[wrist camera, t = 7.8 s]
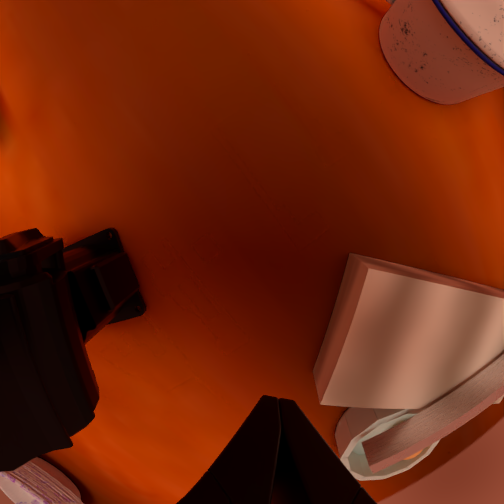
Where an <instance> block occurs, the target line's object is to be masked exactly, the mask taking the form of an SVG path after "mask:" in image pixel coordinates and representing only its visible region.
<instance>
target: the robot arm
mask: <svg viewBox="0 0 504 504" xmlns="http://www.w3.org/2000/svg"><path fill="white" fill-rule="evenodd" d="M109 232H110V233H111V234H112V238H110V237H109ZM137 306H139V307H140V308H141V310H138V309H137ZM145 311H146V305H145V303H144V300H143V298H142V296H141V293H140V291H139V284H138V281H137V279H136V276H135V274H134V271H133V269H132V266H131V263H130V261H129V258H128V256H127V254H126V253H125V252H124V250H123V247H122V245H121V242H120V239H119V236H118V233H117V231H116V230H115V229H114V228H108V229H105V230H103V231H101V232H98V233H96V234H94V235H92V236H89V237H87V238H85V239H83V240H81V241H78V242H76V243H74V244H72V245H70V246H68V247H65V248H64V247H63V240H62V238H58V239H53V237H45V236H43V235H42V234H41V233H40V232H39V230H38V229H37V228H34V229H28V230H24V231H20V232H16V233H13V234H9V235H7V236H4V237H2V238H0V472H5V471H14V470H16V469H17V468H19V467H21V466H22V465H24V464H25V463H27V462H29V461H30V460H32V459H34V458H36V457H37V456H39V455H42V454H45V453H48V452H50V451H53V450H59V449H65V448H70V447H72V446H73V443H72V441H71V439H70V437H71V436H73V435H75V434H76V433H78V432H79V431H81V430H82V429H84V428H85V427H86V426H87V425H88V424H89V423H90V422H91V421H92V420H93V419H94V417H95V413H94V410H95V408H96V405H97V403H98V400H99V387H98V384H97V382H96V377H95V374H94V371H93V370H92V367H91V364H90V361H89V358H88V355H87V351H86V348H85V344H86V343H87V342H88V341H89V340H90V339H91V338H92V337H93V336H95V335H96V334H97V333H98V332H99V331H100V330H101V329H102V328H103V327H104V326H105V325H107V324H111V323H115V322H119V321H123V320H126V319H130V318H134V317H138V316H141V315H143V314H144V313H145ZM360 487H361V485H360V484H359V482H358V481H357V480H356V479H355V478H354V476H353V475H352V474H351V473H350V471H349V470H348V469H347V468H346V467H345V465H344V464H343V463H342V462H341V460H340V459H339V458H338V457H337V455H336V454H335V453H334V452H333V450H332V449H331V448H330V447H329V445H328V444H327V443H326V441H325V440H324V439H323V438H322V436H321V435H320V434H319V432H318V431H317V430H316V429H315V427H314V426H313V425H312V423H311V422H310V421H309V419H308V418H307V417H306V416H305V414H304V413H303V412H302V410H301V409H300V408H299V406H298V405H297V404H296V402H295V401H293V400H289V399H283V398H280V399H278V398H277V397H272V396H267V395H263V396H262V397H261V398H260V400H259V401H258V403H257V404H256V406H255V407H254V408H253V410H252V411H251V413H250V414H249V416H248V417H247V418H246V420H245V421H244V423H243V424H242V425H241V427H240V428H239V429H238V431H237V432H236V434H235V435H234V436H233V438H232V439H231V440H230V442H229V443H228V444H227V446H226V447H225V448H224V450H223V451H222V452H221V454H220V455H219V456H218V457H217V459H216V460H215V461H214V463H213V464H212V465H211V466H210V468H209V469H208V471H206V472H205V474H204V475H203V476H202V477H201V479H200V480H199V481H198V482H197V483H196V484H195V485H194V487H193V488H192V489H191V490H190V491H189V492H188V493H187V494H186V495H185V496H184V497H183V498H182V499H181V500H180V501H179V502H177V503H176V504H377V503H376V502H375V501H374V500H373V499H372V498H371V496H370V495H369V494H368V493H367V492H366V491H365V489H364V488H363V487H361V488H360Z"/></svg>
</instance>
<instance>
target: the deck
mask: <svg viewBox="0 0 504 504" xmlns="http://www.w3.org/2000/svg"><path fill="white" fill-rule="evenodd" d="M503 354H504V290H502V289H498V288H494V287H490V286H486V285H482V284H478V283H475V282H471V281H467V280H463V279H459V278H455V277H451V276H447V275H442V274H438V273H434V272H430V271H426V270H422V269H418V268H414V267H409V266H405V265H401V264H397V263H392V262H388V261H384V260H380V259H375V258H371V257H367V256H362V255H358V254H354V253H349V257H348V261H347V264H346V268H345V272H344V275H343V279H342V282H341V286H340V289H339V293H338V296H337V299H336V303H335V306H334V309H333V312H332V316H331V319H330V322H329V325H328V328H327V331H326V334H325V337H324V340H323V343H322V346H321V349H320V352H319V355H318V358H317V361H316V363H315V366H314V369H313V375H314V379H315V383H316V388H317V392H318V397H319V401H320V404H321V405H332V406H344V407H359V408H381V409H427V408H428V407H430V406H432V405H433V404H435V403H436V402H438V401H440V400H441V399H443V398H444V397H446V396H447V395H449V394H450V393H452V392H454V391H455V390H456V389H458V388H459V387H461V386H462V385H464V384H465V383H467V382H468V381H469V380H471V379H472V378H474V377H475V376H476V375H478V374H479V373H480V372H482V371H483V370H484V369H486V368H487V367H488V366H489V365H491V364H492V363H493V362H494V361H496V360H497V359H498V358H499V357H501V356H502V355H503ZM503 396H504V395H502V396H501V397H500V398H499V399H498V400H496V401H495V402H494V403H492V404H496V403H500V402H501V400H502V398H503Z"/></svg>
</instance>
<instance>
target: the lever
mask: <svg viewBox="0 0 504 504" xmlns="http://www.w3.org/2000/svg"><path fill="white" fill-rule="evenodd" d="M502 395H504V354H503V355H502V356H501V357H499V358H498V359H497V360H496V361H494V362H493V363H492V364H491V365H489V366H488V367H487V368H486V369H484V370H483V371H482V372H480V373H479V374H478V375H476V376H475V377H474V378H472V379H471V380H469V381H468V382H467V383H465V384H464V385H462V386H461V387H459V388H458V389H456V390H455V391H454V392H452V393H450V394H449V395H447V396H446V397H444V398H443V399H441V400H440V401H438V402H436V403H435V404H433V405H432V406H430V407H428V408H427V409H425V410H423V411H421V412H420V413H418V414H416V415H414V416H413V417H411V418H409V419H407V420H405V421H404V422H402V423H400V424H398V425H396V426H394V427H392V428H390V429H388V430H386V431H384V432H382V433H380V434H378V435H376V436H374V437H372V438H370V439H367V440H365V441H363V442H361V443H362V446H363V449H364V452H365V455H366V458H367V462H368V465H369V467H370V469H371V471H372V472H373V473H376V472H378V471H380V470H382V469H385V468H387V467H389V466H391V465H393V464H395V463H397V462H399V461H401V460H403V459H405V458H407V457H409V456H411V455H413V454H415V453H417V452H419V451H421V450H422V449H424V448H426V447H428V446H430V445H431V444H433V443H435V442H436V441H438V440H440V439H441V438H443V437H445V436H446V435H448V434H450V433H451V432H453V431H454V430H456V429H457V428H459V427H460V426H462V425H463V424H465V423H466V422H468V421H469V420H471V419H472V418H474V417H475V416H476V415H478V414H479V413H480V412H482V411H483V410H485V409H486V408H487V407H489V406H490V405H491V404H492V403H494V402H495V401H496V400H498V399H499V398H500V397H501V396H502Z"/></svg>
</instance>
